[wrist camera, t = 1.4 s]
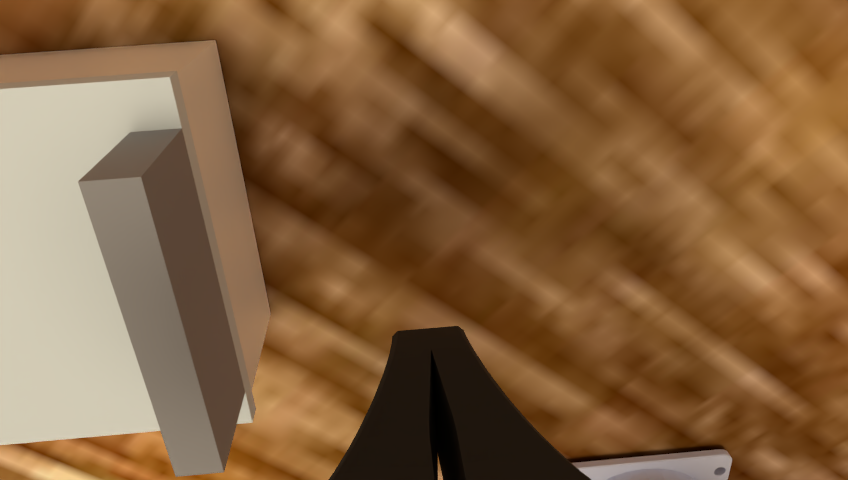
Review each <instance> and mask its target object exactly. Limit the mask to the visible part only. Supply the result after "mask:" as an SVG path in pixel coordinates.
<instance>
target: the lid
mask: <svg viewBox="0 0 848 480" xmlns="http://www.w3.org/2000/svg"><path fill="white" fill-rule="evenodd" d="M255 410H256V407H255V403H254V399H253V395H252V390H251V386H250V382H249V377H248V373H247V369H246V365H245V360H244V356H243V352H242V347H241V343H240V339H239V335H238V330H237V326H236V322H235V318H234V313H233V309H232V305H231V300H230V296H229V292H228V288H227V283H226V279H225V275H224V270H223V266H222V262H221V258H220V253H219V249H218V245H217V240H216V236H215V232H214V228H213V223H212V219H211V215H210V211H209V206H208V202H207V198H206V193H205V189H204V185H203V181H202V176H201V172H200V168H199V163H198V159H197V155H196V151H195V146H194V142H193V138H192V133H191V129H190V125H189V121H188V116H187V112H186V108H185V104H184V99H183V95H182V91H181V86H180V82H179V78H178V74H177V71H167V72H153V73H139V74H125V75H111V76H96V77H82V78H68V79H54V80H40V81H26V82H11V83H0V445H6V444H17V443H28V442H40V441H51V440H62V439H73V438H85V437H96V436H107V435H118V434H129V433H141V432H152V431H161V434H162V437H163V440H164V443H165V446H166V449H167V452H168V455H169V458H170V461H171V464H172V467H173V470H174V473H175V476H176V477H177V476H188V475H199V474H210V473H221V472H224V470H225V466H226V463H227V459H228V455H229V451H230V447H231V444H232V440H233V436H234V432H235V429H236V425H237V424H242V423H253V418H254V414H255Z"/></svg>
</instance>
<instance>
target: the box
mask: <svg viewBox="0 0 848 480" xmlns="http://www.w3.org/2000/svg"><path fill="white" fill-rule="evenodd" d="M167 71H177V74H178V78H179V82H180V86H181V91H182V95H183V99H184V104H185V108H186V112H187V116H188V121H189V125H190V129H191V133H192V138H193V142H194V146H195V151H196V155H197V159H198V163H199V168H200V172H201V176H202V181H203V185H204V189H205V193H206V198H207V202H208V206H209V211H210V215H211V219H212V223H213V228H214V232H215V236H216V240H217V245H218V249H219V253H220V258H221V262H222V266H223V270H224V275H225V279H226V283H227V288H228V292H229V296H230V300H231V305H232V309H233V313H234V318H235V322H236V326H237V330H238V335H239V339H240V343H241V347H242V352H243V356H244V360H245V365H246V369H247V373H248V377H249V382H250V386H251V390H252V387H253V383H254V379H255V375H256V371H257V367H258V363H259V359H260V355H261V351H262V347H263V343H264V339H265V335H266V331H267V327H268V323H269V319H270V315H271V313H270V308H269V303H268V298H267V293H266V288H265V283H264V278H263V273H262V268H261V263H260V258H259V253H258V248H257V243H256V238H255V233H254V228H253V223H252V218H251V213H250V208H249V203H248V198H247V193H246V188H245V183H244V178H243V173H242V168H241V163H240V158H239V153H238V149H237V144H236V139H235V134H234V129H233V124H232V119H231V114H230V109H229V104H228V99H227V94H226V89H225V84H224V79H223V74H222V69H221V64H220V59H219V54H218V49H217V44H216V40H208V41H193V42H179V43H164V44H150V45H135V46H121V47H106V48H92V49H78V50H63V51H49V52H34V53H20V54H5V55H0V83H11V82H26V81H40V80H54V79H68V78H82V77H96V76H111V75H125V74H139V73H153V72H167Z"/></svg>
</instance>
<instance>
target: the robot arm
mask: <svg viewBox="0 0 848 480" xmlns="http://www.w3.org/2000/svg"><path fill="white" fill-rule="evenodd" d="M437 452H438V453H437ZM438 457H439V461H440V466H441V471H442V476H443V480H728V477H729V472H730V468H731V464H732V458H731V456H730V455H729V453H728V452H727V451H726V450H724V449H716V450H705V451H694V452H684V453H673V454H662V455H651V456H640V457H630V458H619V459H608V460H597V461H587V462H576V463H571V462H570V461H568V460H567V459H566V458H565V457H564V456H563V455H562V454H560V453H559V452H558V451H557V450H556V449H555V448H554V447H553V446H552V445H551V444H550V443H549V442H548V441H547V440H546V439H545V438H544V437H543V436H542V435H541V434H540V433H539V432H538V431H537V430H536V429H535V428H534V427H533V426H532V425H531V424H530V423H529V422H528V421H527V419H526V418H525V417H524V416H523V415H522V414H521V413H520V411H519V410H518V409H517V408H516V407H515V406H514V405H513V403H512V402H511V401H510V400H509V398H508V397H507V396H506V395H505V393H504V392H503V391H502V390H501V388H500V387H499V386H498V384H497V383H496V382H495V380H494V379H493V378H492V376H491V375H490V374H489V372H488V371H487V369H486V368H485V366H484V365H483V363H482V362H481V360H480V359H479V357H478V356H477V354H476V353H475V351H474V349H473V348H472V346H471V344H470V342H469V341H468V339H467V337H466V335H465V333H464V330H462V329H461V328H460V327H459V326H452V327H440V328H429V329H417V330H405V331H397V332H396V333H395V334H394V335H393V337H392V345H391V350H390V354H389V358H388V361H387V364H386V367H385V371H384V374H383V376H382V379H381V381H380V384H379V386H378V389H377V392H376V394H375V397H374V399H373V401H372V404H371V406H370V408H369V410H368V412H367V414H366V416H365V418H364V420H363V422H362V424H361V426H360V428H359V430H358V432H357V434H356V436H355V438H354V440H353V441H352V443H351V445H350V447H349V449H348V450H347V452H346V454H345V455H344V457H343V459H342V460H341V462H340V463H339V465H338V467H337V468H336V470H335V471H334V473H333V474H332V476H331V477H330V479H329V480H438Z"/></svg>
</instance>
